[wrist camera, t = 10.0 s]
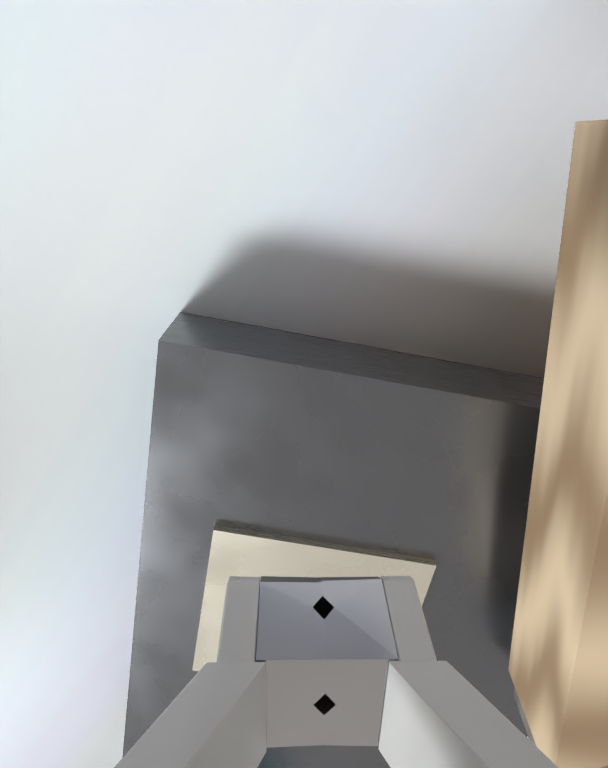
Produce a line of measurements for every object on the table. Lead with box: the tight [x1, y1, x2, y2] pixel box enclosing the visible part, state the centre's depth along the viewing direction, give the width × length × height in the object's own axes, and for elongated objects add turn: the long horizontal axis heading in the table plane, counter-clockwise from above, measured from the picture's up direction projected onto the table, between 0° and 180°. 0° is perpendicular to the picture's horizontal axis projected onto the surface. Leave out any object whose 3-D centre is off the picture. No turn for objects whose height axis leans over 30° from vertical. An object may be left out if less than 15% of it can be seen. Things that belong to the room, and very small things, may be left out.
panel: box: [123, 312, 544, 768], centre depth 22 cm, size 20×18×4 cm
